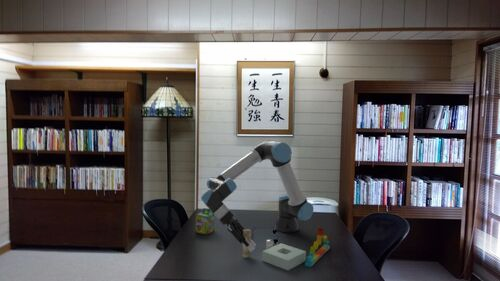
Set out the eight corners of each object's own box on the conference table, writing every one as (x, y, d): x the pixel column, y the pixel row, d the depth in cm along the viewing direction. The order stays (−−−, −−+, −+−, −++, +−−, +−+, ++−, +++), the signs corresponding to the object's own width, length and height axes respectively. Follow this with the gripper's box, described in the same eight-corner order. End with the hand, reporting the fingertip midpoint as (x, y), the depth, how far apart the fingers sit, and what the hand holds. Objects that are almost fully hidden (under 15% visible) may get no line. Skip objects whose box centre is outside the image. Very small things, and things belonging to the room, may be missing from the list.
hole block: (280, 252, 184) (281, 243, 184) (305, 260, 173) (306, 251, 173) (262, 260, 172) (262, 251, 172) (287, 270, 161) (288, 260, 161)
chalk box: (195, 232, 211) (195, 209, 210) (202, 228, 220) (202, 206, 219) (207, 235, 208) (208, 211, 207) (214, 230, 216) (215, 208, 215)
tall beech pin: (246, 254, 179) (246, 228, 179) (251, 256, 177) (252, 230, 176) (240, 256, 176) (241, 230, 176) (246, 258, 174) (247, 232, 173)
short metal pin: (269, 247, 191) (269, 238, 190) (274, 249, 188) (274, 240, 188) (264, 249, 188) (264, 240, 187) (270, 251, 185) (270, 242, 185)
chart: (310, 267, 166) (312, 238, 165) (304, 266, 168) (306, 236, 167) (330, 248, 192) (331, 223, 191) (324, 247, 194) (325, 222, 193)
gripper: (223, 215, 187) (251, 247, 185) (214, 224, 170) (245, 259, 168) (233, 206, 186) (261, 238, 183) (224, 214, 169) (255, 250, 167)
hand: (253, 248), depth 176 cm, fingers closed on tall beech pin, 4 cm apart
